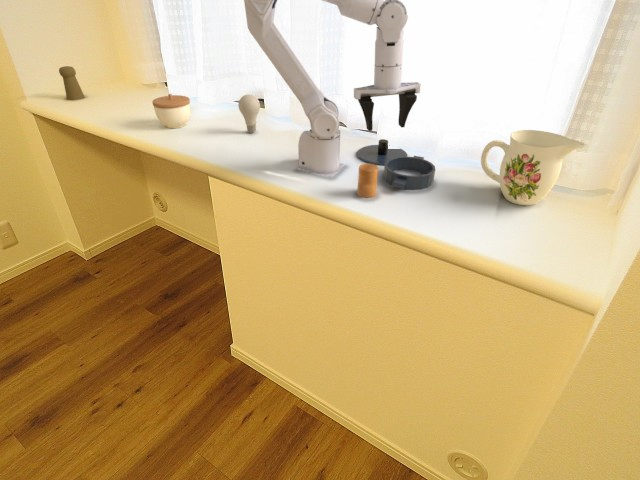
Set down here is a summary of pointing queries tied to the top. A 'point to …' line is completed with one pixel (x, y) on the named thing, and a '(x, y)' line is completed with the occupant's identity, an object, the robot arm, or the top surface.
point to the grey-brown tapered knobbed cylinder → (71, 83)
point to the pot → (406, 180)
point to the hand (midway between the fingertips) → (385, 127)
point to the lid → (379, 153)
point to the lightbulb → (249, 111)
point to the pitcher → (529, 164)
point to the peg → (367, 180)
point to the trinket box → (172, 110)
